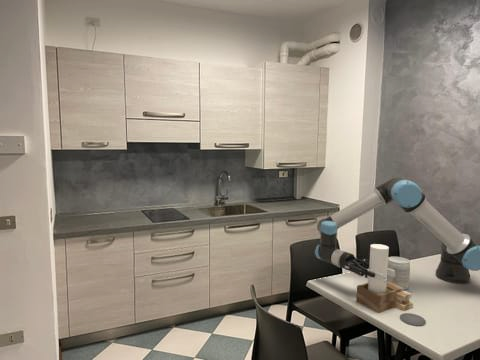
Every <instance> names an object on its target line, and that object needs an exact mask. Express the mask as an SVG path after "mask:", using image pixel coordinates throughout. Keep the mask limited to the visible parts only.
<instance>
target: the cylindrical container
mask: <svg viewBox="0 0 480 360" xmlns="http://www.w3.org/2000/svg"><path fill="white" fill-rule="evenodd" d="M389 251H390V247H389V246H388V245H385V244H380V243H378V244H377V243H373V244H370V248H369V260H370V263H369V269H368V271H369V270H373V271H375V272H378V273H381V274H384V278H383V281H380V280H377V279H375V278H372V277H369V276H368V282H367V283H368V290H370V291H372V292H374V293H376V294H378V295H380V294H383V293H386V286H387V270H388V258H389Z"/></svg>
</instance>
